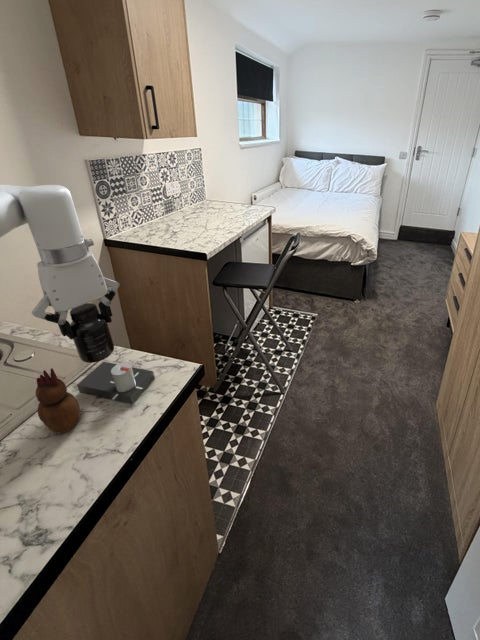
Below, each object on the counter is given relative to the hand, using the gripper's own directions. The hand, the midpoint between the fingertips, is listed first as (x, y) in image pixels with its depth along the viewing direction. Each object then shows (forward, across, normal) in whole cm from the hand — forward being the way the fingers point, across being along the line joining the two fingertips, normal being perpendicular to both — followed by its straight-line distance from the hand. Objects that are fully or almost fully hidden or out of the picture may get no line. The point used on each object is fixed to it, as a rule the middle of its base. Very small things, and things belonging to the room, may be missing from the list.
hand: (89, 327), depth 70 cm
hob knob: (+14, -1, +7) cm, 15 cm away
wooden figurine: (+16, +11, +5) cm, 20 cm away
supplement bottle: (+7, 0, 0) cm, 7 cm away
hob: (+16, -1, +3) cm, 16 cm away
